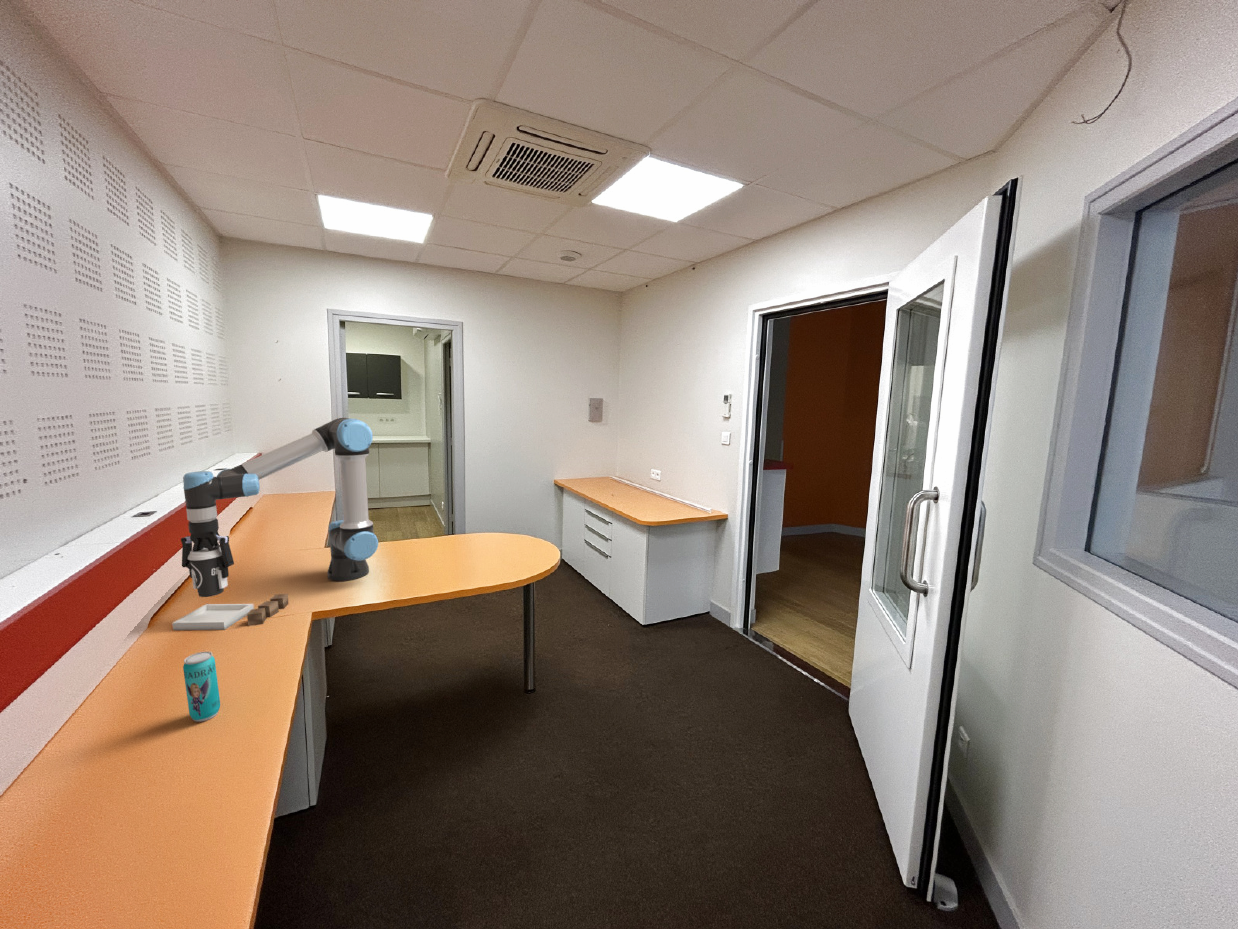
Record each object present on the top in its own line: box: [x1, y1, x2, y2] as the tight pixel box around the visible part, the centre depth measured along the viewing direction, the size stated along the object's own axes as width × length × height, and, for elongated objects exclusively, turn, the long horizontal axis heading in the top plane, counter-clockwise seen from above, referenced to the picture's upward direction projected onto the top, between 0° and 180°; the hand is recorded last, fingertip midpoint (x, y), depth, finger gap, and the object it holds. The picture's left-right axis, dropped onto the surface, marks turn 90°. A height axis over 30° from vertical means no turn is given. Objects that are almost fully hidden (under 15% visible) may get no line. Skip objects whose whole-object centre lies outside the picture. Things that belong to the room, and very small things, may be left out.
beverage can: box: [182, 651, 221, 723], centre depth 121 cm, size 6×6×15 cm
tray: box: [171, 603, 255, 631], centre depth 171 cm, size 16×14×2 cm
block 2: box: [257, 600, 280, 618], centre depth 176 cm, size 4×4×4 cm
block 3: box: [269, 593, 290, 610], centre depth 181 cm, size 4×4×4 cm
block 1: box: [246, 608, 267, 627], centre depth 170 cm, size 4×4×4 cm
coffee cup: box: [188, 546, 225, 598], centre depth 169 cm, size 10×10×15 cm
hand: (210, 587), depth 170 cm, fingers closed on coffee cup, 8 cm apart
